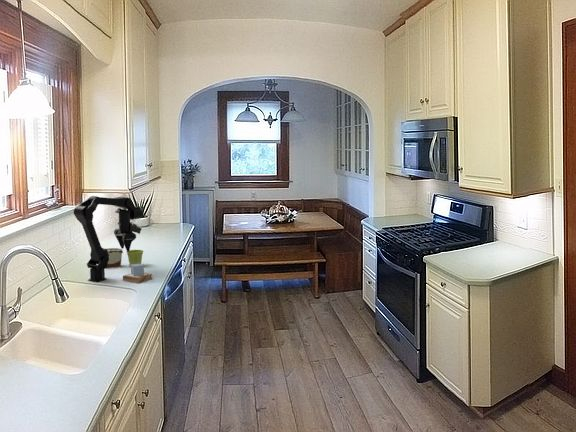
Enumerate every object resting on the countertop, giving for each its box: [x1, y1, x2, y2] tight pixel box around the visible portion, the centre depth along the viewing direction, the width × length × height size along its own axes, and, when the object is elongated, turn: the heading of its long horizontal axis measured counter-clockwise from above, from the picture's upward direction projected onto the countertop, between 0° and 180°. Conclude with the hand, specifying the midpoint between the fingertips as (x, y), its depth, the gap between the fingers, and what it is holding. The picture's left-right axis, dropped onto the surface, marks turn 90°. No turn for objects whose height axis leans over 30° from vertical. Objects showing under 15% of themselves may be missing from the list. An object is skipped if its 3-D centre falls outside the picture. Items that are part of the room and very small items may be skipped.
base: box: [122, 272, 153, 284], centre depth 258 cm, size 10×10×3 cm
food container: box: [106, 247, 124, 269], centre depth 284 cm, size 12×6×10 cm, turn 116°
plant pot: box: [125, 249, 145, 268], centre depth 286 cm, size 9×9×9 cm
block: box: [130, 262, 145, 276], centre depth 257 cm, size 5×5×5 cm
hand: (125, 249), depth 270 cm, fingers open, 9 cm apart
